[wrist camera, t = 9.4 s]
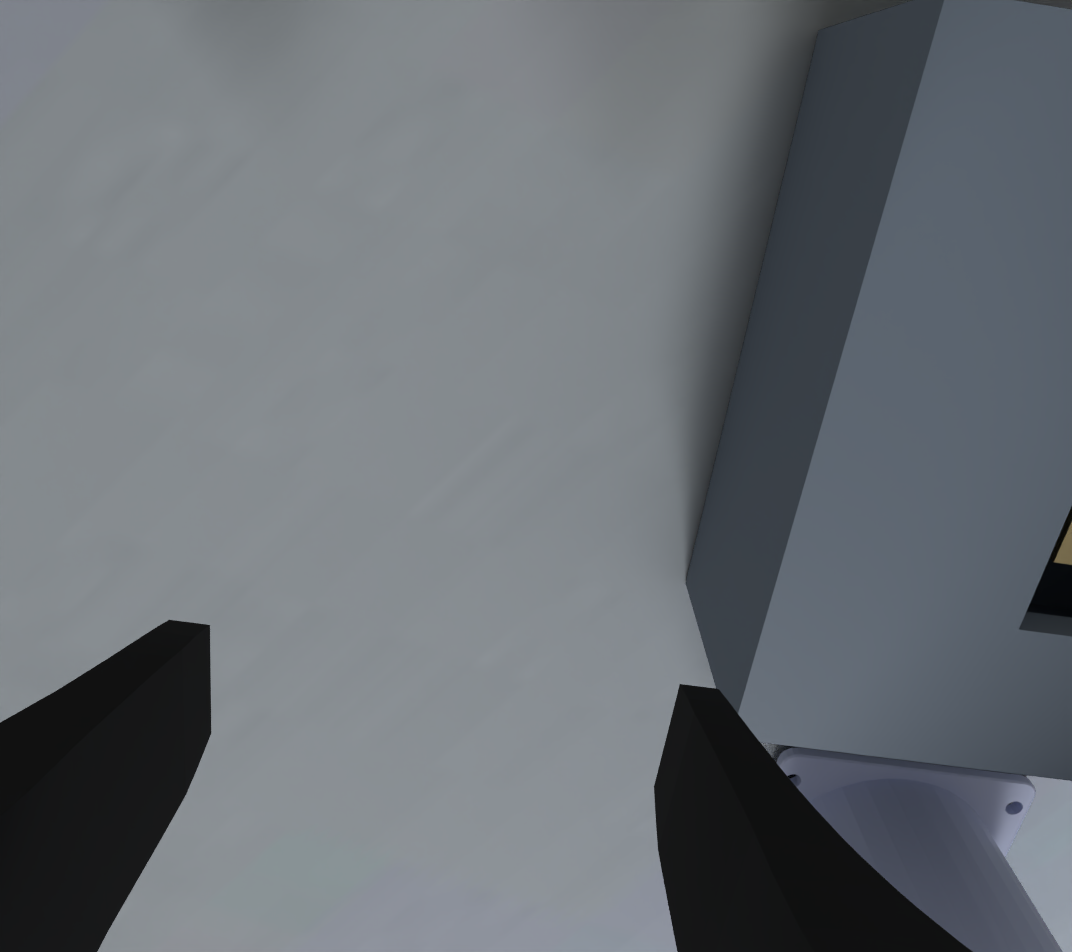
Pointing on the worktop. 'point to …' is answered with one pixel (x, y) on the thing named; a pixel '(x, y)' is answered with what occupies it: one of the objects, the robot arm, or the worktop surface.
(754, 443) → the slot box
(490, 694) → the worktop surface
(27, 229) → the worktop surface
